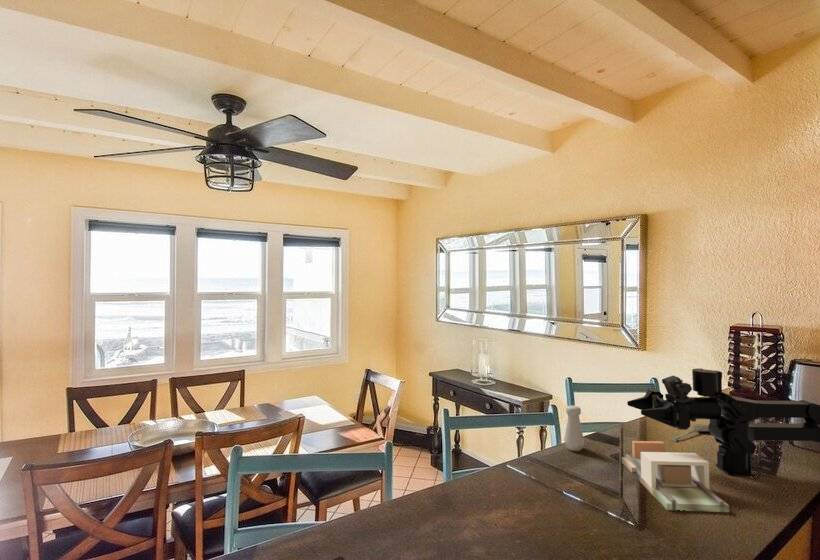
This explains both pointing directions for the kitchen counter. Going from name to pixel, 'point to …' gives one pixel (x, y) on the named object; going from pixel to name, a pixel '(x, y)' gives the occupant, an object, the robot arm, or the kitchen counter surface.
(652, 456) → the tunnel
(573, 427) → the salt shaker
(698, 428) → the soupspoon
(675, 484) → the sled
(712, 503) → the track deck
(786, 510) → the kitchen counter surface
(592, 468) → the kitchen counter surface
